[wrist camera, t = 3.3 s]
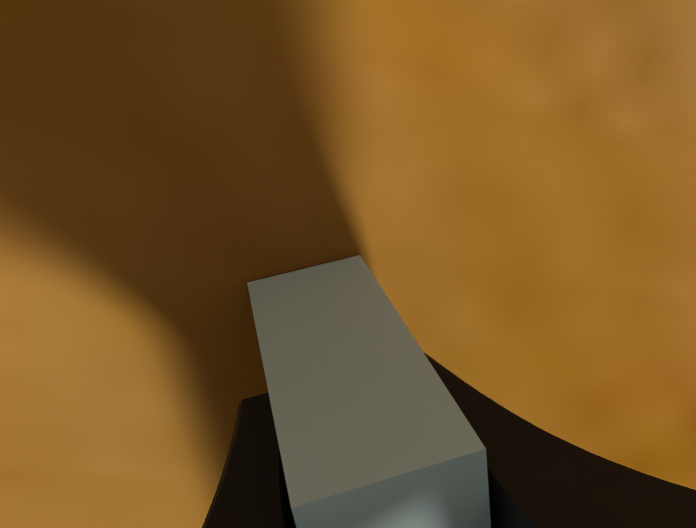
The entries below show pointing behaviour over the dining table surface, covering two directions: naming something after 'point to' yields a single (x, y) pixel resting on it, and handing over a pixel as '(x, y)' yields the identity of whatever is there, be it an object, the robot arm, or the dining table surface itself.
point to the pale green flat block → (362, 408)
